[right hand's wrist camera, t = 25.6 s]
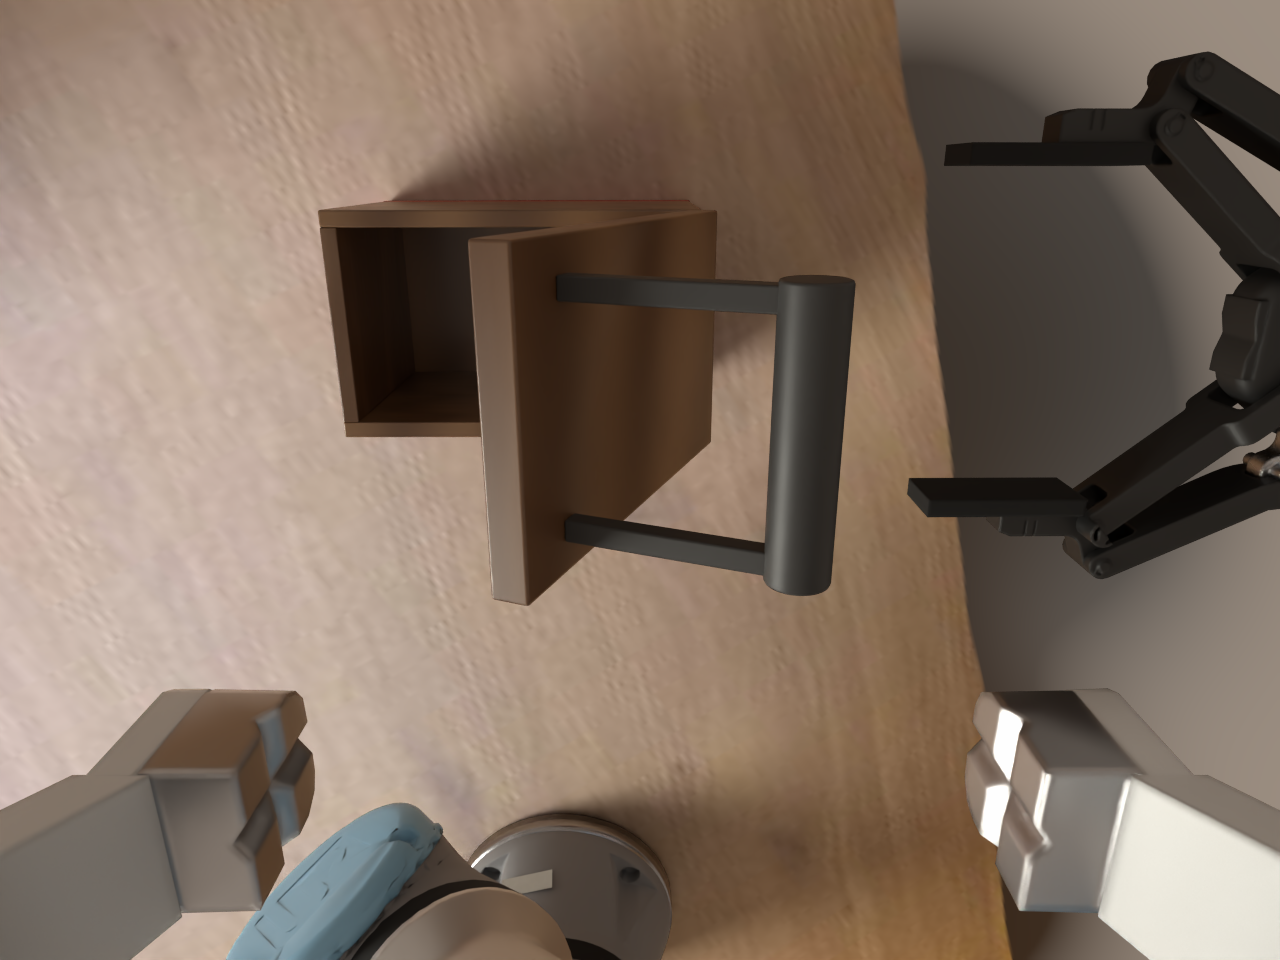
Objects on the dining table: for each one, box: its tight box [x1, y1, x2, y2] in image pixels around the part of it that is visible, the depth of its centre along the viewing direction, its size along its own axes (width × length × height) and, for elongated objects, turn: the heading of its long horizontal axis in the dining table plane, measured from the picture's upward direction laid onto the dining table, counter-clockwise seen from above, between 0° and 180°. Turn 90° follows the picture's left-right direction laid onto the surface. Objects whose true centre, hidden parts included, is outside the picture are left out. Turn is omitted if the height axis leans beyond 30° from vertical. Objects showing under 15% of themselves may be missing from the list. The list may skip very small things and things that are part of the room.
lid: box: [468, 210, 855, 606], centre depth 28 cm, size 16×10×9 cm
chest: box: [318, 200, 701, 437], centre depth 42 cm, size 16×10×11 cm, turn 90°
